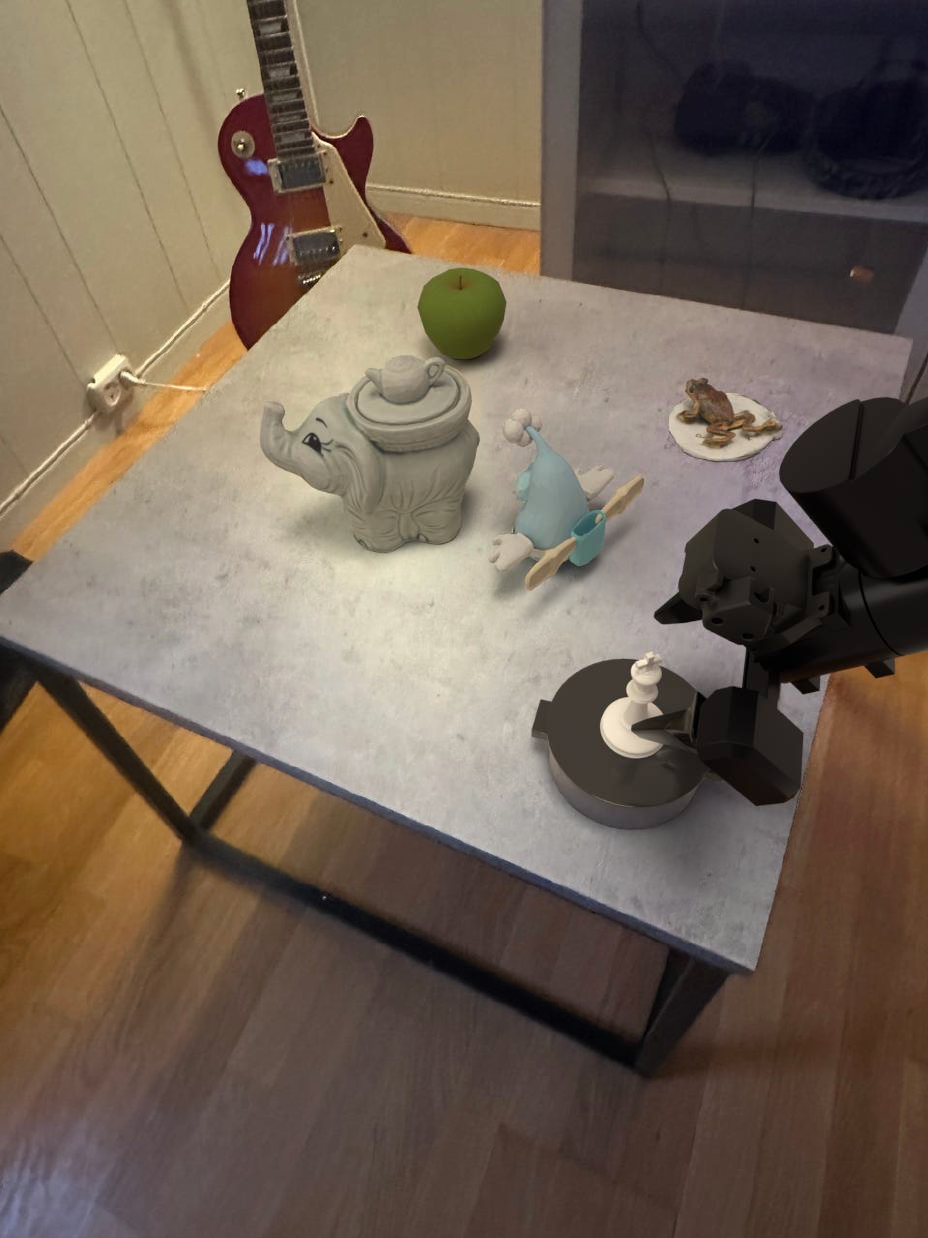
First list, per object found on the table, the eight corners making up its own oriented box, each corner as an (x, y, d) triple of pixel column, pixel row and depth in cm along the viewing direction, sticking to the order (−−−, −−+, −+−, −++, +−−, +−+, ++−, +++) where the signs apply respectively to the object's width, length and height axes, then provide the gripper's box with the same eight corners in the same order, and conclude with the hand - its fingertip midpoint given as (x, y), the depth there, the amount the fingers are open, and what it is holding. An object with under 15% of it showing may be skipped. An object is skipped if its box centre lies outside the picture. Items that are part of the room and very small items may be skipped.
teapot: (289, 539, 78) (231, 386, 63) (372, 451, 85) (338, 295, 70) (422, 598, 72) (394, 444, 57) (499, 498, 79) (492, 338, 64)
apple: (418, 333, 98) (408, 259, 90) (497, 320, 99) (494, 245, 91) (430, 383, 92) (421, 308, 84) (515, 369, 93) (513, 292, 85)
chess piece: (678, 746, 56) (703, 673, 48) (617, 767, 55) (632, 697, 47) (648, 692, 59) (666, 615, 51) (589, 712, 58) (599, 637, 50)
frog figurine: (642, 425, 85) (646, 397, 82) (716, 380, 89) (722, 351, 85) (722, 478, 79) (730, 450, 76) (797, 427, 83) (807, 398, 80)
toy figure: (562, 480, 80) (568, 357, 68) (643, 526, 76) (665, 403, 64) (452, 571, 74) (438, 453, 62) (533, 628, 69) (535, 513, 57)
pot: (725, 712, 63) (738, 680, 59) (707, 856, 56) (721, 831, 52) (552, 674, 66) (554, 641, 62) (515, 806, 59) (515, 779, 55)
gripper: (810, 386, 41) (595, 501, 52) (790, 666, 31) (528, 732, 42) (910, 513, 46) (692, 592, 57) (922, 793, 35) (653, 822, 47)
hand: (646, 672), depth 51 cm, fingers open, 9 cm apart
